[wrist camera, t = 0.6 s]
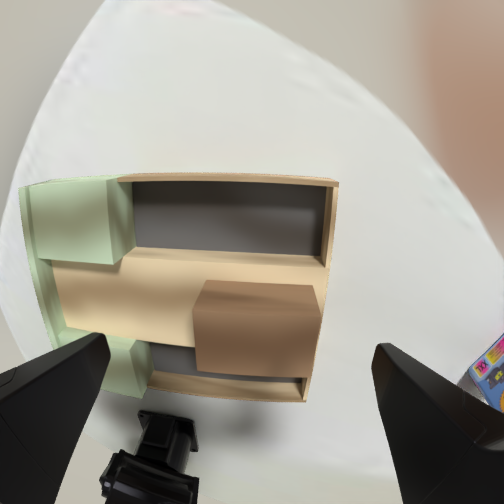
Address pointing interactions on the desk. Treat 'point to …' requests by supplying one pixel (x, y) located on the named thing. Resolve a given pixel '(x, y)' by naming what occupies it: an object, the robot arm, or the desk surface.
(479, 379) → the ink cartridge box
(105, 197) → the trap board
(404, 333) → the desk surface
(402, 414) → the robot arm
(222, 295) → the walnut brick
